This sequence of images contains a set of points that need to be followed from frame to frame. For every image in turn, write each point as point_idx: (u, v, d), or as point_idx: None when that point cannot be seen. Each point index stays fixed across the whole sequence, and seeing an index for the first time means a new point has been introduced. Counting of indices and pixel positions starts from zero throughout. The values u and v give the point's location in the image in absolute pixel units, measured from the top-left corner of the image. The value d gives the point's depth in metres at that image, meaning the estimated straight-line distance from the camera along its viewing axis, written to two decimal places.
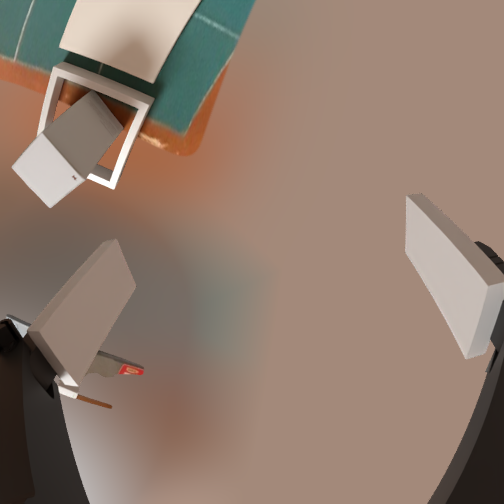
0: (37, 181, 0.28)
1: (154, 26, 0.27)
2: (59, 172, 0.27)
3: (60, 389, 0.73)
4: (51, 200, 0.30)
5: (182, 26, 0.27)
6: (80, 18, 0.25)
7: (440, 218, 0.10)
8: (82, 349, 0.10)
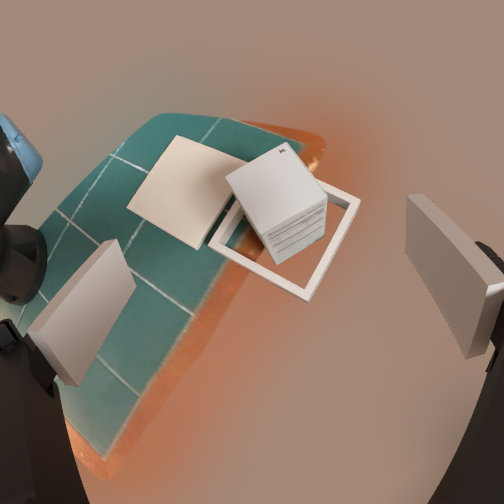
0: (284, 198, 0.28)
1: (201, 164, 0.45)
2: (274, 165, 0.29)
3: None
4: (314, 188, 0.28)
5: (205, 146, 0.46)
6: (176, 224, 0.43)
7: (440, 218, 0.10)
8: (82, 349, 0.10)
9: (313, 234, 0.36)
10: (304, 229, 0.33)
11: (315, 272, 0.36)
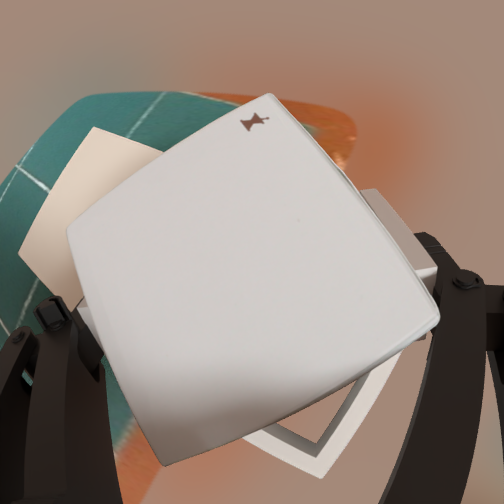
0: (255, 333, 0.06)
1: (121, 175, 0.23)
2: (218, 178, 0.07)
3: None
4: (389, 283, 0.06)
5: (132, 142, 0.24)
6: (76, 292, 0.21)
7: (385, 210, 0.11)
8: None
9: None
10: None
11: (342, 424, 0.14)
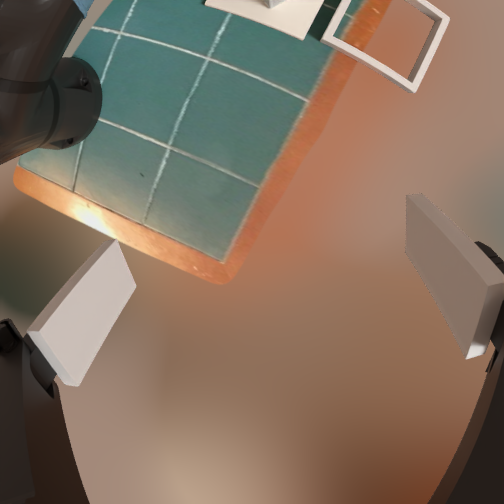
0: None
1: None
2: None
3: None
4: None
5: None
6: (276, 17, 0.32)
7: (440, 218, 0.10)
8: (82, 349, 0.10)
9: None
10: None
11: (419, 70, 0.32)
